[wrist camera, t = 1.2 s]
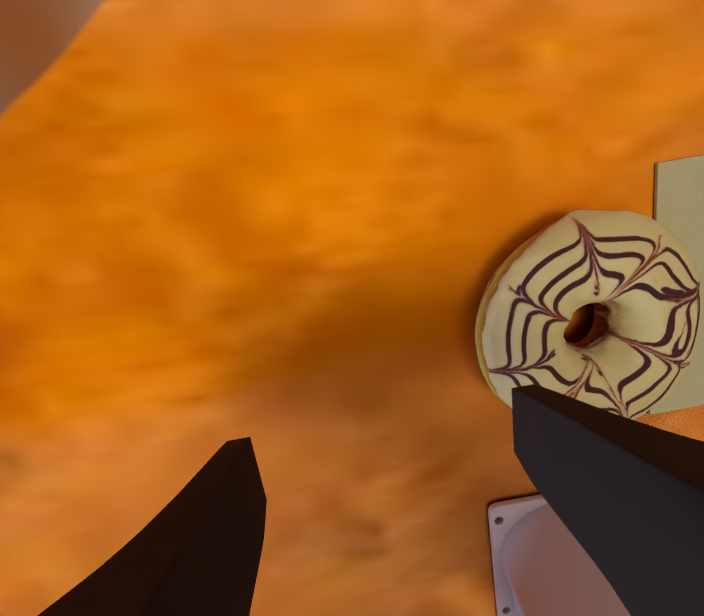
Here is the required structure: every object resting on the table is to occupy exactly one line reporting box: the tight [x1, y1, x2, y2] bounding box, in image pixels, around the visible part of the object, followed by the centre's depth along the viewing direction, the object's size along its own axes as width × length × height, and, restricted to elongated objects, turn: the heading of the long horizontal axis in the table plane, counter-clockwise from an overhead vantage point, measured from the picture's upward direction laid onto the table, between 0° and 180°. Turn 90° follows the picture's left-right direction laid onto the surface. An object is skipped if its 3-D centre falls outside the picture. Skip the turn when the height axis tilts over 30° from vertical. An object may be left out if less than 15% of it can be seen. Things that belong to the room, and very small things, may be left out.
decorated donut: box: [475, 210, 702, 420], centre depth 19 cm, size 10×11×4 cm
